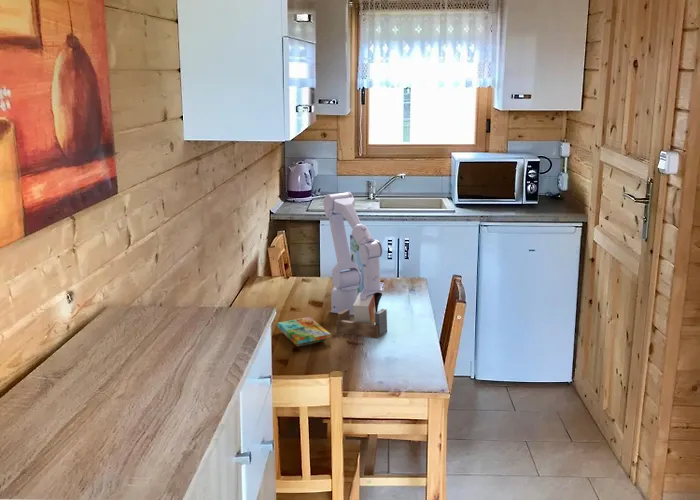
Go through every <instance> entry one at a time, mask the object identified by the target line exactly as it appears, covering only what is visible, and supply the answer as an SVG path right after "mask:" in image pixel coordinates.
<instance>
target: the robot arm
mask: <svg viewBox="0 0 700 500" xmlns="http://www.w3.org/2000/svg"><path fill="white" fill-rule="evenodd" d="M322 203H323V209H324V213H325V218H327V219H328V221H329V225H330V231H331V236H332V242H333V247H334V251H335V252H334V253H335V256H336V261H337V263H336V264H335V266H334V267H333V268H332V270H331V273H332V274H331V275H332V277H331V279H332V280H331V282H332V285H333V288H332V290H331V292H330V299H331V301H330V302H331V303H330V304H331V305H330V306H331V310H330V313H333V314H338V313H340V312H341V311H343V310H345V309H349V310H350V316H354V310H353V304H354V303H355V301H356V298H357V296H358V294H357V288H359V285H360V284H361V282H362V275H361V273H360V271H359V267H358V265H357V264H355V263H354V262H352V261H351V255H350V246H349V242H348V238H347V231H346V227H345V222H344V219H345V220H346V221H347V223H348V224H349V226H350V227H351V229H352V230H351V235H353V237H354V239H355V241H356V242H357V244H358V246H359V255H360V257H361V262H362V264H363V276H364V289H363V291H362V293H361V294H360V299H363V300H366V299H367V298H366V297H367V296H368V295H370V294H374V298H375V307H376V313H377V312H378V311H379V309H378V308H379V303H380V301H381V299H382V296H383V293H382V292H383V291H384V289H385V283H384V282H381V267H380V266H381V265H380V257H382V255H383V247H382V243H381V242H380V241H379V240H378V239H376V238H374V237H373V235H372V234H371V232H370V230H369V228H368V227H367V225H365V224H362V222H361V221H360V217H359V216H358V214H357V213H358V212H357V211H356V208H355V198H354V196H353V194H352V193H351V191H345V192H339V193H330V194H329V193H328V194H325V196H324V198H323V202H322Z"/></svg>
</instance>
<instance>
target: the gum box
mask: <svg viewBox="0 0 700 500" xmlns="http://www.w3.org/2000/svg"><path fill="white" fill-rule="evenodd" d="M349 241H350V242H349V243H350V244H349V245H350V246H349V252H350V257H351V261H352V262H354V263H355V264H357V265H358V267H359V271H360V273H361V275H362V282H361V284H360V285H359V288H357V294H359V293H362V291H363V289H364V276H363V264H362V262H361V257H360V255H359V246H358V244H357V242H356V241H355V239H354V237H353V235H352V234H349Z"/></svg>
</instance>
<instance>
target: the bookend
mask: <svg viewBox="0 0 700 500" xmlns="http://www.w3.org/2000/svg"><path fill="white" fill-rule="evenodd" d="M387 311H388V309H387V308H381V309H380V310H378V311H377V313H375V324H374V325H379V337H378V338H380V337H382V336H383V335H385V334H386V333H388V314H387Z"/></svg>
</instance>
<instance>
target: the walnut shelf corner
mask: <svg viewBox="0 0 700 500" xmlns="http://www.w3.org/2000/svg"><path fill="white" fill-rule="evenodd" d="M335 322H336V325H335V326H336V332H337V333H342V334H343V333H344V334H348V335H355V336H360V337H366V338H372V339H378V338H380V337H379V325H375V324H374V325H372V324H366V323H359V322H355V321H351V315H350V310H349V309H345V310H343V311H341V312H340V313H337V320H336V321H335Z"/></svg>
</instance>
